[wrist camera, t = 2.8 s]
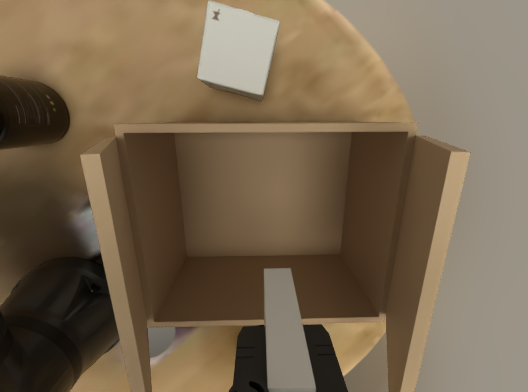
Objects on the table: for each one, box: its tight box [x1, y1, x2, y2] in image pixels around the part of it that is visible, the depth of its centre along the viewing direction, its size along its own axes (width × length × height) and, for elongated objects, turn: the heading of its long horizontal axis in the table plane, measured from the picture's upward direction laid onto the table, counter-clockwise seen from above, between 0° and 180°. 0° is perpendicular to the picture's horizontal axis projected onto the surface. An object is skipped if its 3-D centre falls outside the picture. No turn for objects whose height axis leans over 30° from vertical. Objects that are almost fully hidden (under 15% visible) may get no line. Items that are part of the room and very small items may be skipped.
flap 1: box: [80, 137, 152, 392], centre depth 16 cm, size 10×16×1 cm
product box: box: [197, 1, 280, 101], centre depth 24 cm, size 6×6×7 cm
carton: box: [114, 122, 418, 328], centre depth 27 cm, size 22×18×12 cm
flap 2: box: [386, 136, 470, 392], centre depth 16 cm, size 10×16×1 cm
